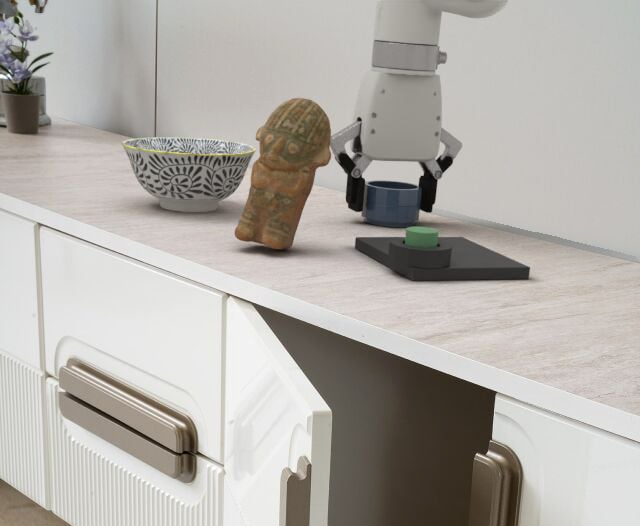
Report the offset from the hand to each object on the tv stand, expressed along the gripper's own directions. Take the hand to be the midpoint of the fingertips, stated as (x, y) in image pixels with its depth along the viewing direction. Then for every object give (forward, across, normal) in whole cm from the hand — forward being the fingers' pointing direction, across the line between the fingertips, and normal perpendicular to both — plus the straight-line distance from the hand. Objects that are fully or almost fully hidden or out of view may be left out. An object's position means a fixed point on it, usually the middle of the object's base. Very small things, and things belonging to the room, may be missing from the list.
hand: (389, 210), depth 137 cm
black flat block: (+1, +4, +22) cm, 22 cm away
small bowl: (+1, 0, 0) cm, 1 cm away
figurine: (+2, +19, +15) cm, 24 cm away
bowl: (+2, +23, -9) cm, 25 cm away
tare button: (-1, +9, +26) cm, 28 cm away
